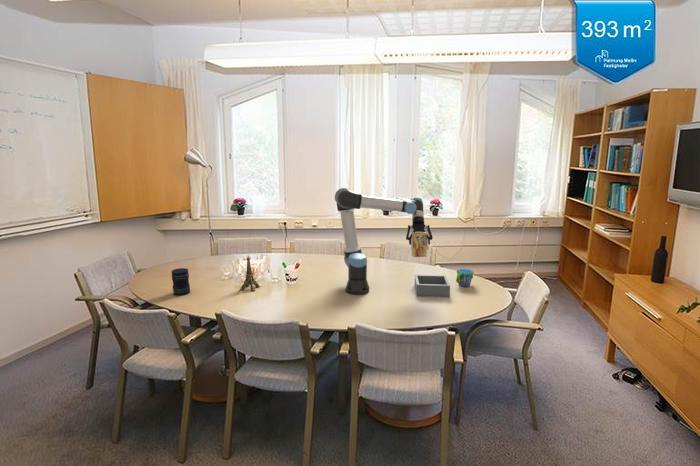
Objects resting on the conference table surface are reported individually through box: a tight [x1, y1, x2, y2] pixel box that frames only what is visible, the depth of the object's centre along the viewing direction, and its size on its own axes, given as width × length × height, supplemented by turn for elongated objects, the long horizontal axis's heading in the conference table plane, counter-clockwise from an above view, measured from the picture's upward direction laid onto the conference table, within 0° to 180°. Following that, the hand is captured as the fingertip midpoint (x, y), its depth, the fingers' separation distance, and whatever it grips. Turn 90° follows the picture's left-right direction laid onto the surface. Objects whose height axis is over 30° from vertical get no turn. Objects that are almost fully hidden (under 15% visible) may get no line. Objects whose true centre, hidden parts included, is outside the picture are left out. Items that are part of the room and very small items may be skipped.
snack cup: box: [455, 268, 474, 288], centre depth 273 cm, size 16×10×10 cm
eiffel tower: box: [238, 255, 262, 293], centre depth 265 cm, size 11×11×25 cm
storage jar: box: [171, 267, 191, 297], centre depth 258 cm, size 10×10×15 cm
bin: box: [413, 274, 451, 298], centre depth 262 cm, size 20×20×8 cm
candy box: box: [411, 231, 428, 258], centre depth 258 cm, size 9×4×15 cm, turn 92°
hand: (419, 248), depth 255 cm, fingers closed on candy box, 9 cm apart
